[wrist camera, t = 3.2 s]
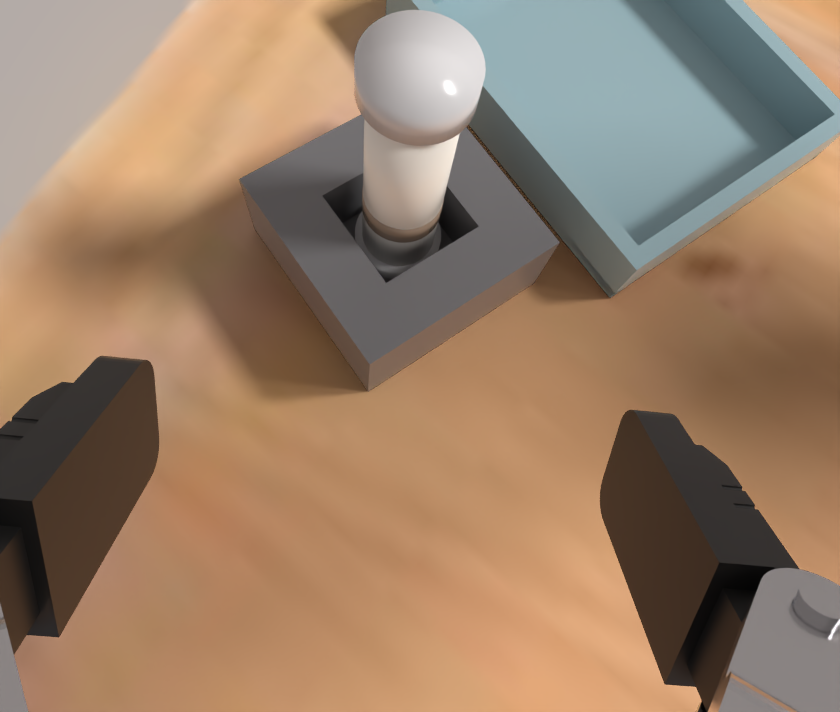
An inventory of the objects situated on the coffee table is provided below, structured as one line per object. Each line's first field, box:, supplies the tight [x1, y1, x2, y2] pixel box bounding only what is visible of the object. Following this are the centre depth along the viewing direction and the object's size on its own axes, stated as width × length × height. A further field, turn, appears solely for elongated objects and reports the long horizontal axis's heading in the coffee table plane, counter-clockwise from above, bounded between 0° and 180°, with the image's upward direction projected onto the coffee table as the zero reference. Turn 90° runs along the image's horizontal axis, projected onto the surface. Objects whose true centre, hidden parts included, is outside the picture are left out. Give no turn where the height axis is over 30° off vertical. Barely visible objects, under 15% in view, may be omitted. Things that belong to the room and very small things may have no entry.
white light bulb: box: [354, 10, 486, 283], centre depth 23 cm, size 4×4×11 cm
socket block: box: [239, 114, 560, 392], centre depth 27 cm, size 9×9×4 cm
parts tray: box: [386, 0, 840, 298], centre depth 32 cm, size 14×18×3 cm
